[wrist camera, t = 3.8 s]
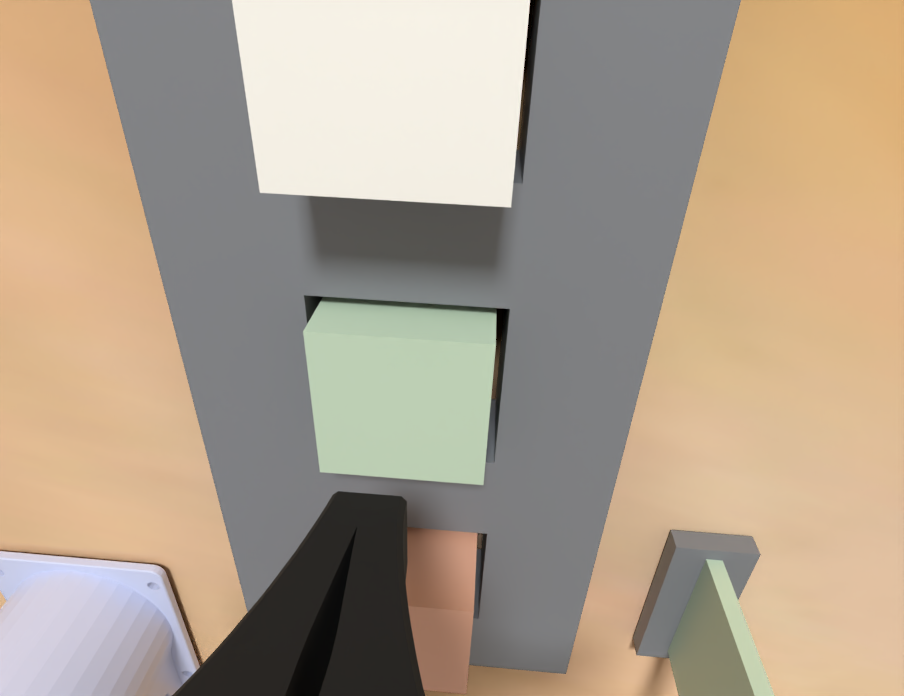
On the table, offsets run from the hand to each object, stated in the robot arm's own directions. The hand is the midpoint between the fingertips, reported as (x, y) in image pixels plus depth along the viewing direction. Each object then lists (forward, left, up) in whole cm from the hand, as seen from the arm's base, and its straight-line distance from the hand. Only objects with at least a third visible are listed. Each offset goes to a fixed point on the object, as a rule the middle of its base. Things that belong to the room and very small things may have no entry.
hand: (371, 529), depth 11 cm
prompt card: (-11, -11, -8) cm, 18 cm away
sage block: (0, 0, -8) cm, 8 cm away
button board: (0, 0, -8) cm, 8 cm away
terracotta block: (-8, 0, -6) cm, 10 cm away
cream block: (+8, 0, -6) cm, 10 cm away
